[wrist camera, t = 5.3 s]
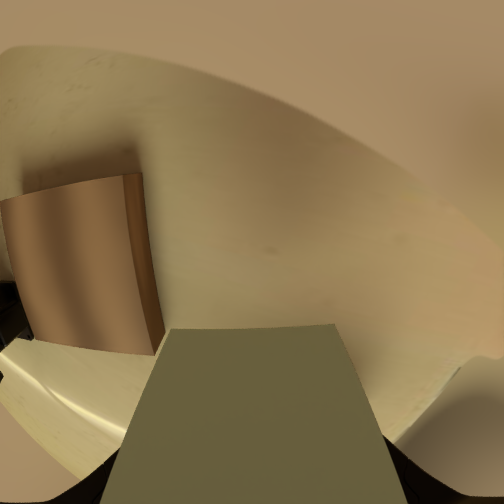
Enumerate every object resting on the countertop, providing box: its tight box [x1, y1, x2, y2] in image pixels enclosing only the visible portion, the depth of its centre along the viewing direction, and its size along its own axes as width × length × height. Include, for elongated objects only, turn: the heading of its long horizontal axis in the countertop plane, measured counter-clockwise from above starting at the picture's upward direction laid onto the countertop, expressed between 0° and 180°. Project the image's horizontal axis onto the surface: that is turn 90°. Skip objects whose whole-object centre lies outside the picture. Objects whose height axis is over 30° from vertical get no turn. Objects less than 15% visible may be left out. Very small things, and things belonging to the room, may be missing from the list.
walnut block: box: [0, 173, 165, 356], centre depth 17 cm, size 12×12×3 cm
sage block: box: [100, 324, 408, 504], centre depth 6 cm, size 6×6×7 cm
